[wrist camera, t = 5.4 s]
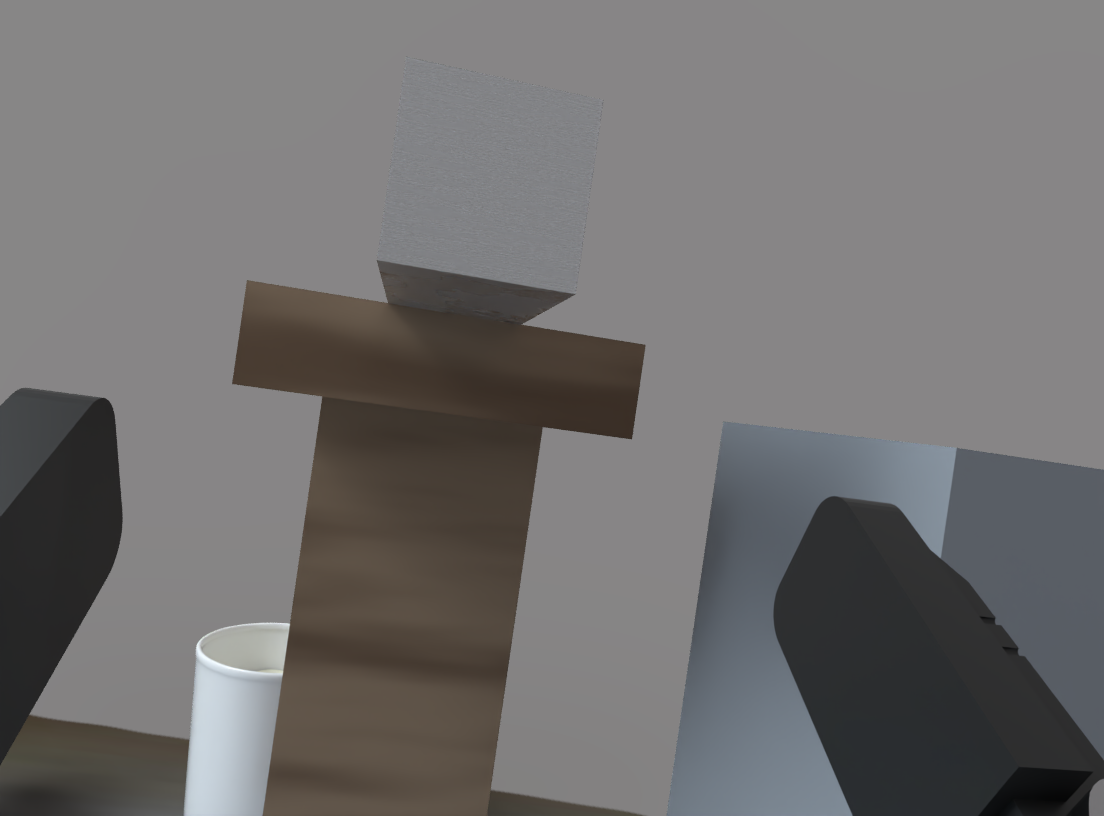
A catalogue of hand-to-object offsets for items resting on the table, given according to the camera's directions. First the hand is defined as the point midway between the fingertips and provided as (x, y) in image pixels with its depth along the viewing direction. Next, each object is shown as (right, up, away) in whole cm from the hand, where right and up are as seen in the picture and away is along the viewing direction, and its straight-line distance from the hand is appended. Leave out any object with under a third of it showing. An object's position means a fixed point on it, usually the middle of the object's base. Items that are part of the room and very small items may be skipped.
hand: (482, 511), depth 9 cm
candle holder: (-18, -26, +41) cm, 52 cm away
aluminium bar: (-3, +4, +19) cm, 20 cm away
